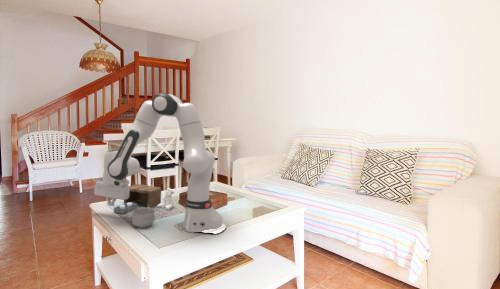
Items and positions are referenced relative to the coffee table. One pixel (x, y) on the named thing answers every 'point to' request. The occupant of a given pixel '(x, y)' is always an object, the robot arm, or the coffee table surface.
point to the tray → (125, 208)
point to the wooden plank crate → (145, 194)
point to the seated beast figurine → (167, 200)
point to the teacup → (143, 217)
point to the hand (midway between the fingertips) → (110, 205)
